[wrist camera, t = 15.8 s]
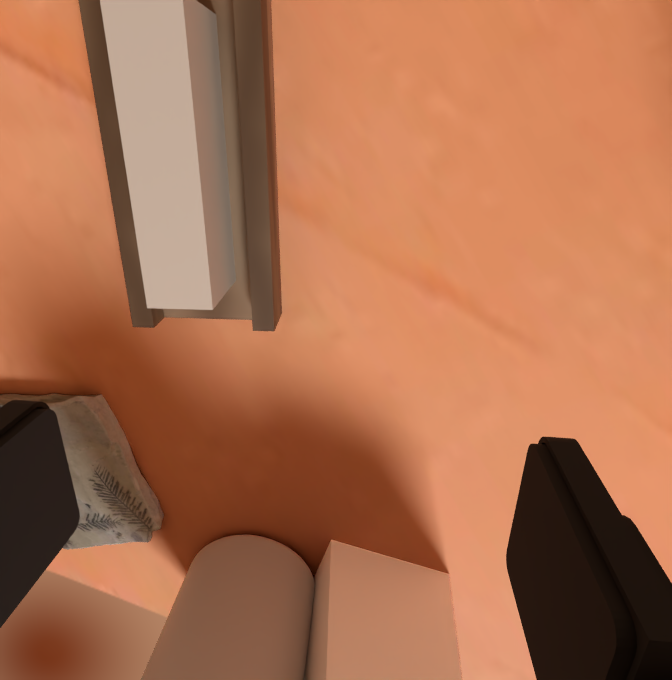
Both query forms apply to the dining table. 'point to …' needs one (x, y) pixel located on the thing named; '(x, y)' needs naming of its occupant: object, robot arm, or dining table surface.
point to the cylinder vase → (238, 615)
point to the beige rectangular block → (173, 147)
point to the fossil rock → (101, 473)
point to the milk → (380, 619)
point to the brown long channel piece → (242, 161)
